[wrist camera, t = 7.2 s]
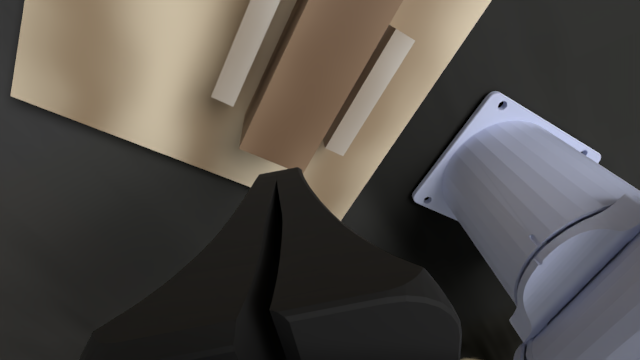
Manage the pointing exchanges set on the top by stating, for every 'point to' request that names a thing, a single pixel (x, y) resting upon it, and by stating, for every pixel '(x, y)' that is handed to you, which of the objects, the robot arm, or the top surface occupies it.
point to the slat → (312, 76)
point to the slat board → (225, 79)
